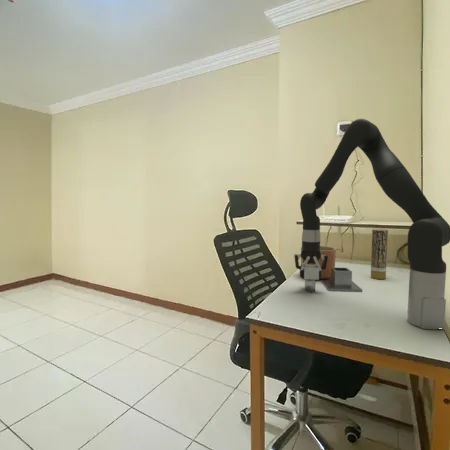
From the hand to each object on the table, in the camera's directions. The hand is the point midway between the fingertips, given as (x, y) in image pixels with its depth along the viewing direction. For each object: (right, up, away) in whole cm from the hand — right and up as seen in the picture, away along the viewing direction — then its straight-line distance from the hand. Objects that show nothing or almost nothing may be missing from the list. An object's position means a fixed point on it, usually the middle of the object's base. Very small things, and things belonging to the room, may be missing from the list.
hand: (310, 278), depth 123 cm
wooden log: (+41, -4, +21) cm, 46 cm away
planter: (+11, -4, +23) cm, 26 cm away
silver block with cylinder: (0, -5, +2) cm, 6 cm away
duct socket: (+16, -5, +7) cm, 18 cm away
